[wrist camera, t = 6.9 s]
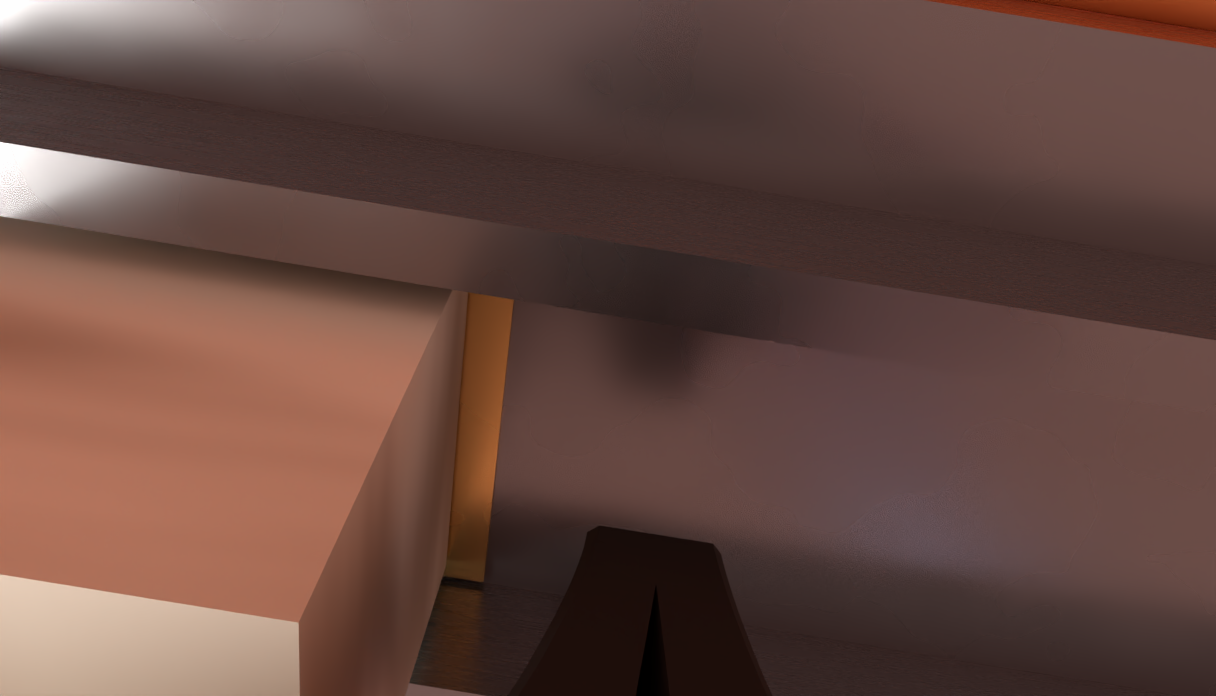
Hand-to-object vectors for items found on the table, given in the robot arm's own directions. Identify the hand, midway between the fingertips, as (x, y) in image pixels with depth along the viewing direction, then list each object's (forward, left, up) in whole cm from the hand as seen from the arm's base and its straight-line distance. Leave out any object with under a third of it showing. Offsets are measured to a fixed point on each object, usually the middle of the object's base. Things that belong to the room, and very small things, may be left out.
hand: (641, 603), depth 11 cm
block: (0, +5, -3) cm, 6 cm away
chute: (0, -1, -4) cm, 4 cm away
